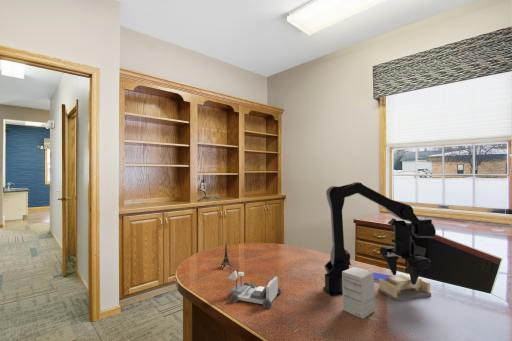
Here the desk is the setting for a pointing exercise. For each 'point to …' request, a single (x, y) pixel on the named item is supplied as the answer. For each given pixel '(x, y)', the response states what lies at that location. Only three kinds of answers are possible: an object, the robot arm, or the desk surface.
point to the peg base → (404, 291)
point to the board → (403, 282)
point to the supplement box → (358, 291)
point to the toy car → (254, 291)
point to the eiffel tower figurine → (225, 258)
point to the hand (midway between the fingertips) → (403, 279)
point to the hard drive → (380, 276)
